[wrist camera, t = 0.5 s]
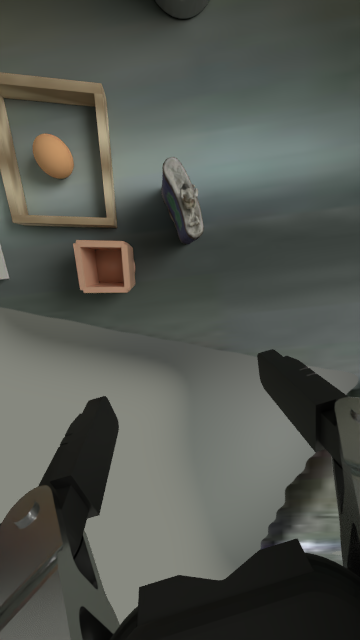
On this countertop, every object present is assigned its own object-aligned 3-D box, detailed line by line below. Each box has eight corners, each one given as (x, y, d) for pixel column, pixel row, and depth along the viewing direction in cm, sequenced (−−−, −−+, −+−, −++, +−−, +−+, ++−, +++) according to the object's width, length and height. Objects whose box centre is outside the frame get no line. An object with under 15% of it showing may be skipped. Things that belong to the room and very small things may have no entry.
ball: (42, 145, 26) (19, 122, 22) (76, 147, 26) (60, 125, 22) (48, 183, 27) (28, 168, 23) (81, 184, 28) (67, 171, 23)
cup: (90, 244, 30) (71, 239, 24) (134, 244, 31) (127, 240, 24) (96, 287, 32) (80, 293, 26) (136, 286, 33) (131, 293, 27)
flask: (158, 189, 29) (159, 151, 19) (175, 181, 29) (185, 139, 19) (181, 247, 32) (193, 241, 22) (197, 240, 32) (216, 230, 22)
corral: (-8, 86, 24) (-24, 69, 22) (106, 98, 25) (101, 83, 23) (23, 225, 28) (13, 222, 26) (117, 227, 30) (114, 225, 28)
